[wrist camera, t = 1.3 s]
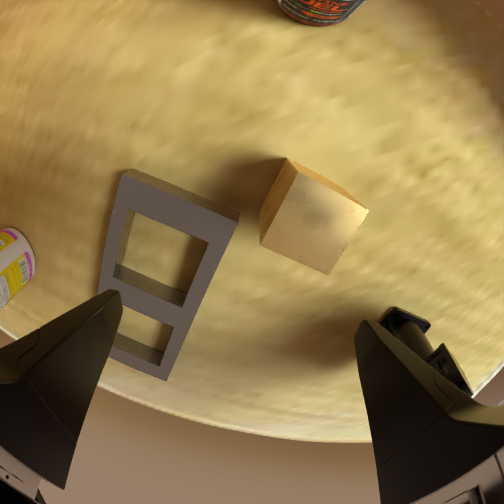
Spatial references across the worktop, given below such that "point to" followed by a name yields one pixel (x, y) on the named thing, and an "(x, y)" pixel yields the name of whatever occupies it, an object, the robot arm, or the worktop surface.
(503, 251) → the worktop surface
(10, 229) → the supplement bottle
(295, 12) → the supplement bottle
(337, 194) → the wooden block
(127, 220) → the grey double window frame
